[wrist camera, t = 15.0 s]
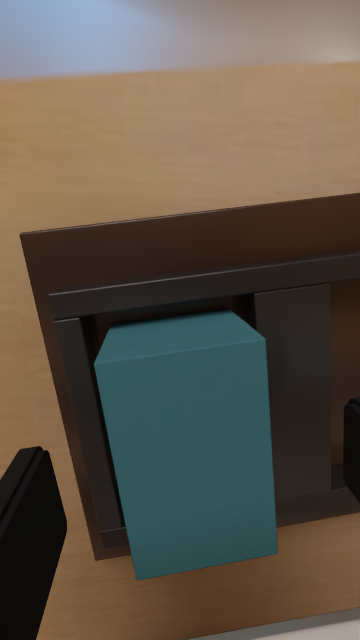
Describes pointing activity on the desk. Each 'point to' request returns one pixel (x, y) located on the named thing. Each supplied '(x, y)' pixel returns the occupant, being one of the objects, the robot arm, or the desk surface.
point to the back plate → (205, 295)
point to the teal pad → (190, 439)
